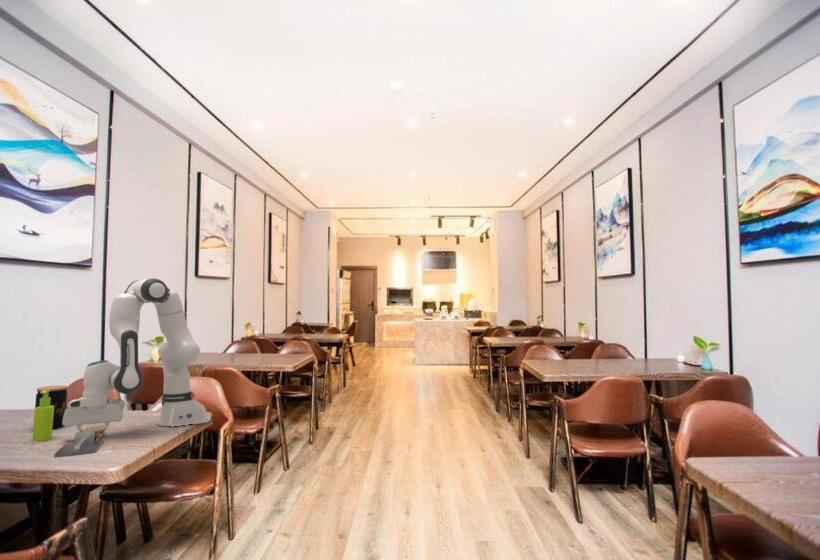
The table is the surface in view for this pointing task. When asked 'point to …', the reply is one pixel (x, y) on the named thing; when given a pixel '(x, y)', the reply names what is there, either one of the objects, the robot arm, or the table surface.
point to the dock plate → (83, 451)
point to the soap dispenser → (43, 418)
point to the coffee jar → (55, 402)
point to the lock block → (96, 431)
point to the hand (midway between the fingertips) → (92, 434)
